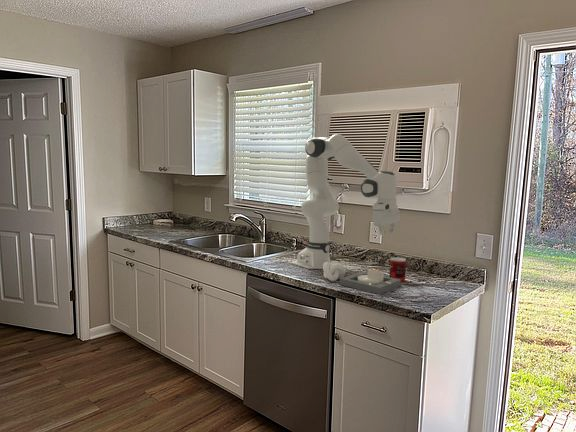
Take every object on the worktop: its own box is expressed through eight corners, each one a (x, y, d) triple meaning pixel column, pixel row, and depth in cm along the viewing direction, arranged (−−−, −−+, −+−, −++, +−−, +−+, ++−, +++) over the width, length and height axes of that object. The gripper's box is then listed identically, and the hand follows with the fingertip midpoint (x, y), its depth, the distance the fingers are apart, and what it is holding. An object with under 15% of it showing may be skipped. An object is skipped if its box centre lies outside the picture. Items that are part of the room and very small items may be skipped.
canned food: (393, 277, 232) (394, 256, 231) (407, 280, 227) (408, 259, 226) (386, 280, 226) (387, 258, 225) (401, 283, 221) (402, 261, 220)
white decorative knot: (335, 284, 217) (335, 266, 215) (315, 279, 224) (316, 262, 223) (348, 279, 225) (348, 262, 224) (328, 275, 233) (329, 258, 232)
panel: (339, 284, 216) (339, 278, 215) (361, 277, 231) (361, 271, 230) (379, 294, 201) (380, 287, 201) (400, 285, 217) (400, 279, 216)
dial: (352, 282, 215) (353, 269, 215) (365, 277, 224) (366, 265, 224) (375, 287, 207) (376, 274, 206) (388, 282, 216) (388, 269, 215)
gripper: (391, 203, 224) (391, 230, 226) (370, 206, 209) (370, 235, 210) (403, 203, 220) (403, 231, 221) (382, 206, 205) (382, 236, 206)
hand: (387, 233), depth 216 cm, fingers open, 8 cm apart
